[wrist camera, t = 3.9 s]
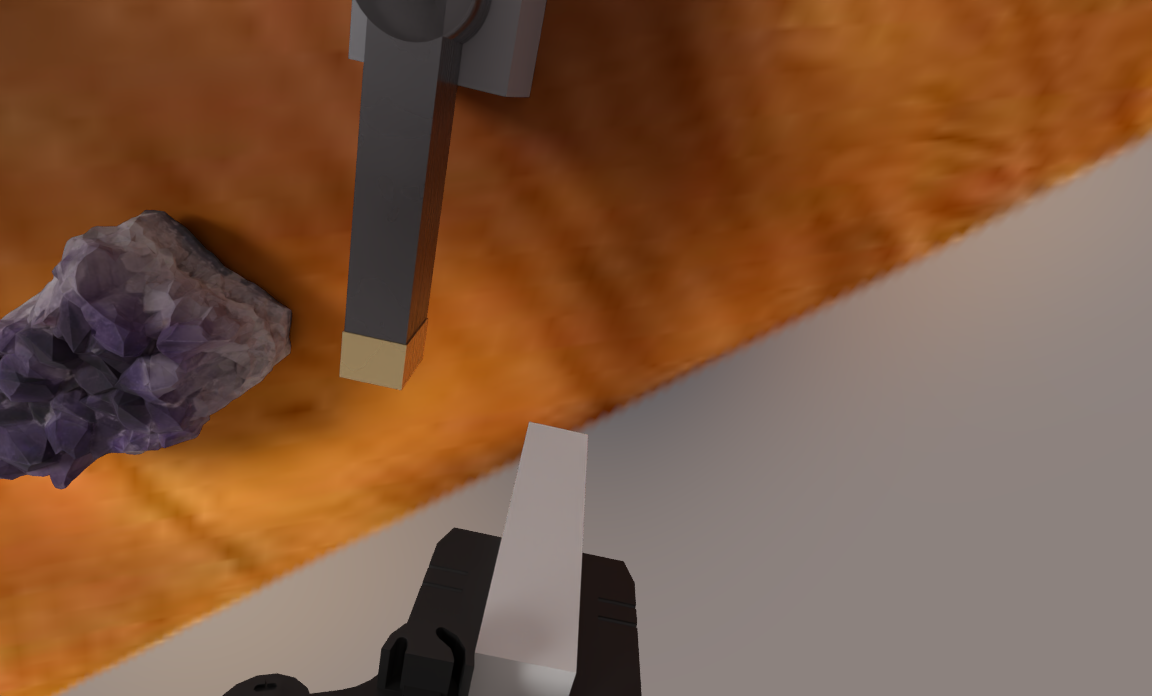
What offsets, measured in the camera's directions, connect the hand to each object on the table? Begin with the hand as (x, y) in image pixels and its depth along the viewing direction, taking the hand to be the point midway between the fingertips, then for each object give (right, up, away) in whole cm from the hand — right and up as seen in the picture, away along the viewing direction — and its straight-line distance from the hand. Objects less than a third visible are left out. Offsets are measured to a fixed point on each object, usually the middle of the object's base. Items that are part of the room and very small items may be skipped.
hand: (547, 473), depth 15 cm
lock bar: (-6, +10, +8) cm, 14 cm away
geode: (-26, +4, +21) cm, 33 cm away
